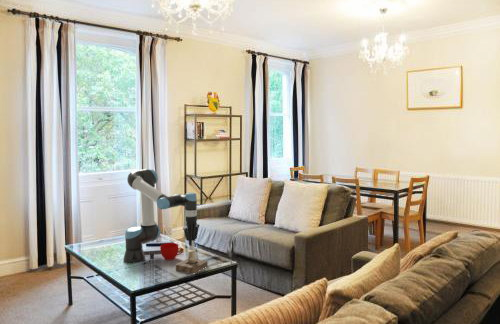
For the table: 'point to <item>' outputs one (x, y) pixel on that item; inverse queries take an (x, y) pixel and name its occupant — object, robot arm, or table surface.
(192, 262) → the peg
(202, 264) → the board
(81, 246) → the table surface
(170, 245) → the ceramic cup
